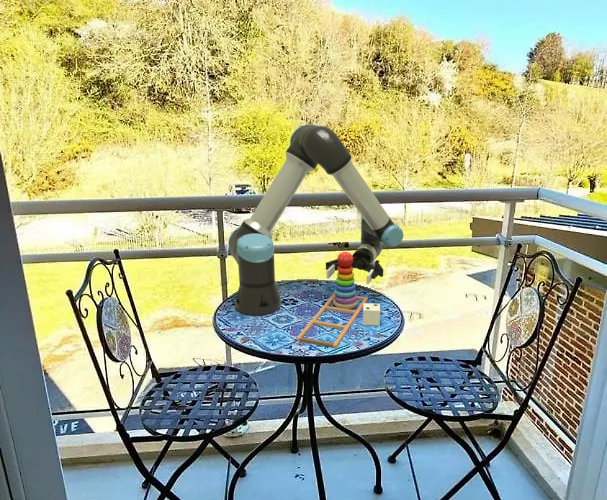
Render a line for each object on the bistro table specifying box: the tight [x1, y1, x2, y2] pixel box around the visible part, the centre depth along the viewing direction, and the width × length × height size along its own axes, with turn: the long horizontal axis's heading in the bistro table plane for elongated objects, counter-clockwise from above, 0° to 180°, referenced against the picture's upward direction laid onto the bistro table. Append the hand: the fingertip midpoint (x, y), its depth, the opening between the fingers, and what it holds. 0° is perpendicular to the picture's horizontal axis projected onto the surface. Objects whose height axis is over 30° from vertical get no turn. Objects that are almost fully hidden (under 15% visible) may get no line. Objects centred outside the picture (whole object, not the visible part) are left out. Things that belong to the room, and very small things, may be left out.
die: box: [362, 302, 381, 326], centre depth 141 cm, size 5×5×5 cm
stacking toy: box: [332, 251, 358, 310], centre depth 150 cm, size 8×8×19 cm
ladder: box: [295, 292, 369, 349], centre depth 143 cm, size 12×34×1 cm, turn 158°
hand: (347, 277), depth 150 cm, fingers open, 13 cm apart
